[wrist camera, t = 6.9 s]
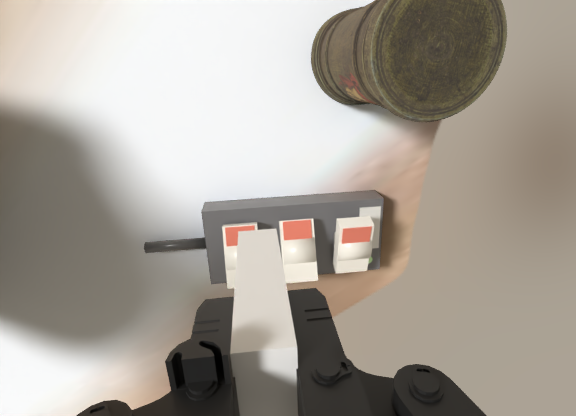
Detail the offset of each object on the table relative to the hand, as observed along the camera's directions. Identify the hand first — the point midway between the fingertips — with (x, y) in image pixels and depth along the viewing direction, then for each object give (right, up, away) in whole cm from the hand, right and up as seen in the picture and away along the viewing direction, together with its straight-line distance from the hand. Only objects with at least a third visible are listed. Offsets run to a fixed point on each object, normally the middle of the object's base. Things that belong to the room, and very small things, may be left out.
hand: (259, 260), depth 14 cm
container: (+8, +18, +23) cm, 30 cm away
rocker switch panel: (-2, -1, +29) cm, 29 cm away
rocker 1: (-4, -3, +25) cm, 26 cm away
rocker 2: (+2, -3, +26) cm, 26 cm away
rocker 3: (+8, -1, +26) cm, 27 cm away
